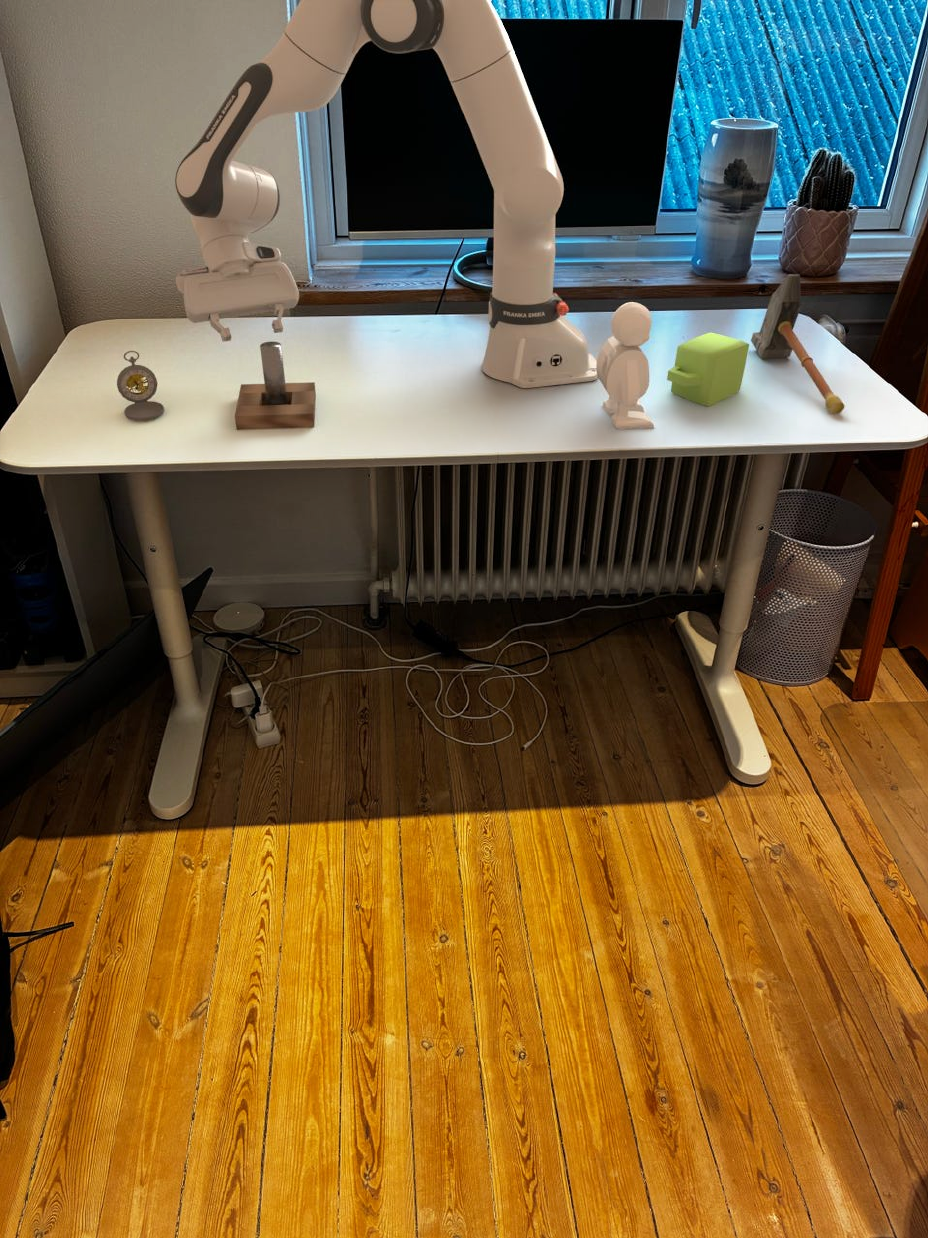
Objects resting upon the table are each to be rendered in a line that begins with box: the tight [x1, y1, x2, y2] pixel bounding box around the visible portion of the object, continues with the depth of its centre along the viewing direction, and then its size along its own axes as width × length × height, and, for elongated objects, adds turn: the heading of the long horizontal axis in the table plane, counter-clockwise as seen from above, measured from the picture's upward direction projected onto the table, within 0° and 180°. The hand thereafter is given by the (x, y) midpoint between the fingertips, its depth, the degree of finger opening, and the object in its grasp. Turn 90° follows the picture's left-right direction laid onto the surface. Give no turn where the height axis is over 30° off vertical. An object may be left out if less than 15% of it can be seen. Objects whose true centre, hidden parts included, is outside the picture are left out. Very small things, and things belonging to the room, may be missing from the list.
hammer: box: [750, 273, 845, 415], centre depth 177 cm, size 6×16×31 cm
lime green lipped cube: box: [666, 332, 750, 407], centre depth 174 cm, size 18×10×10 cm, turn 134°
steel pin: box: [259, 341, 287, 405], centre depth 163 cm, size 4×4×12 cm
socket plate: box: [234, 381, 317, 431], centre depth 166 cm, size 13×13×2 cm
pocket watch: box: [116, 350, 165, 422], centre depth 163 cm, size 8×8×10 cm
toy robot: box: [596, 301, 655, 430], centre depth 161 cm, size 14×9×20 cm, turn 7°
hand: (253, 335), depth 170 cm, fingers open, 8 cm apart
